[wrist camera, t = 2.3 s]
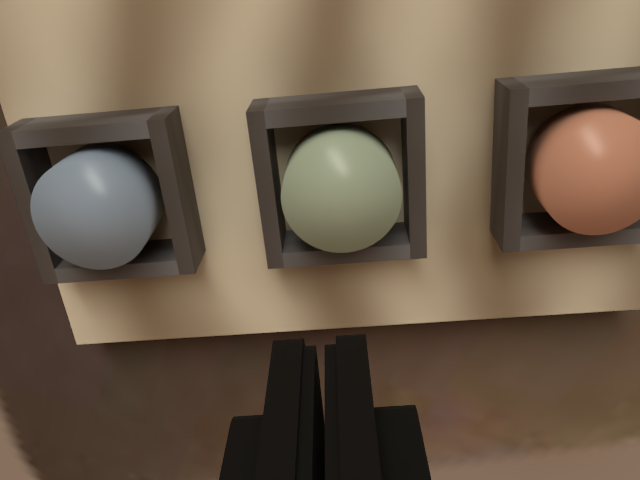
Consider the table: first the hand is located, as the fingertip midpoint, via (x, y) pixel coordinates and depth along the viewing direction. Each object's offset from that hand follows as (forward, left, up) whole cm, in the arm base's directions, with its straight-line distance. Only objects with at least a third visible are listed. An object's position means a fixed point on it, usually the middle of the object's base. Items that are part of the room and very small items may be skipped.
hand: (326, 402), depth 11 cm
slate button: (+8, 0, -12) cm, 14 cm away
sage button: (0, 0, -12) cm, 12 cm away
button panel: (0, 0, -15) cm, 15 cm away
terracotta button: (-9, 0, -12) cm, 15 cm away
